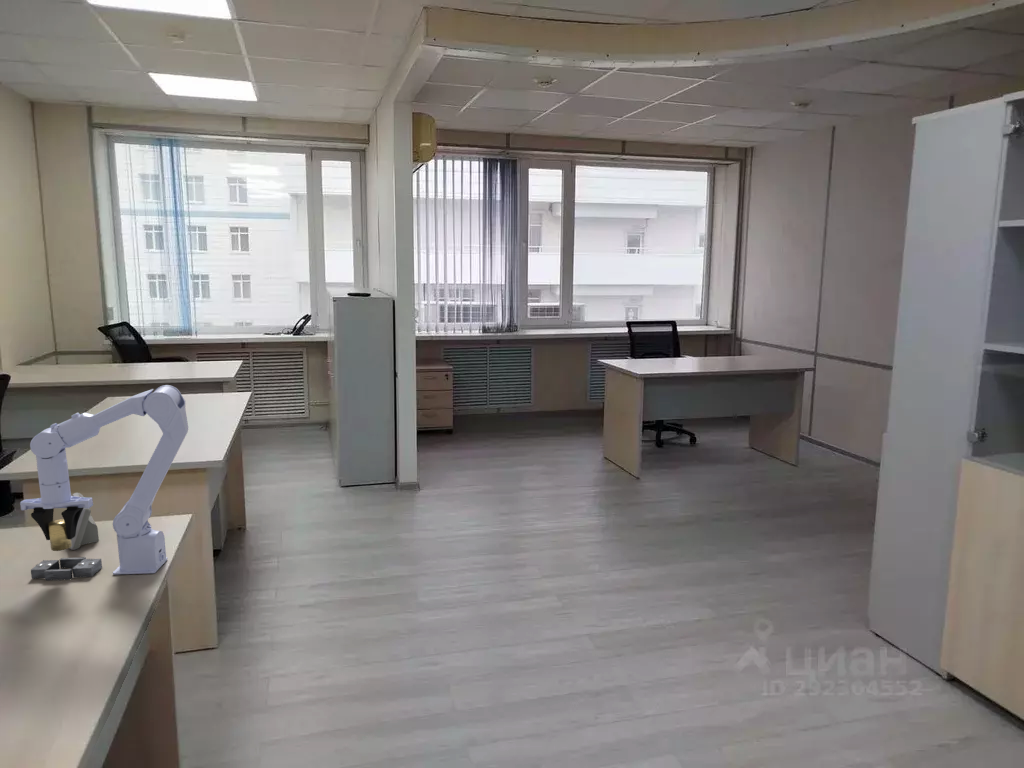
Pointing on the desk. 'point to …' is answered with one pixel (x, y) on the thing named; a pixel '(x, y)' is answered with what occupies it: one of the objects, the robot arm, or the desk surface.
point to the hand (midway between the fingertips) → (61, 538)
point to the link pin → (58, 535)
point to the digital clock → (84, 528)
